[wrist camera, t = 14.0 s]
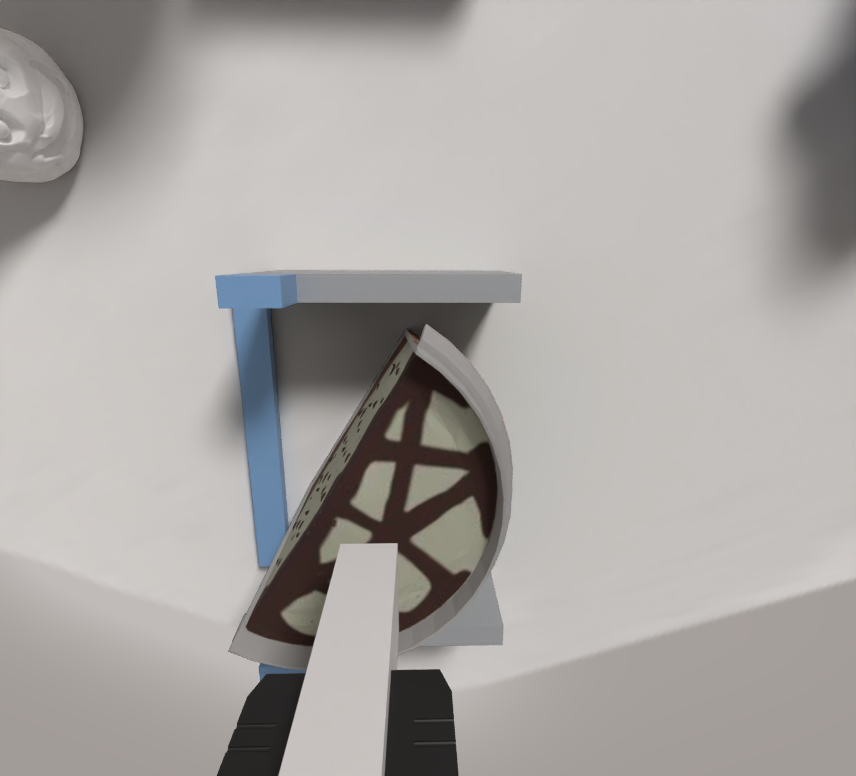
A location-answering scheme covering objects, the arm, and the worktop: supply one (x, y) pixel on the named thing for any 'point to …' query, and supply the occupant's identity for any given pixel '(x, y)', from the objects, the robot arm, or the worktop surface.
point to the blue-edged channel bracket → (260, 396)
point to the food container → (396, 504)
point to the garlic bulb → (35, 114)
